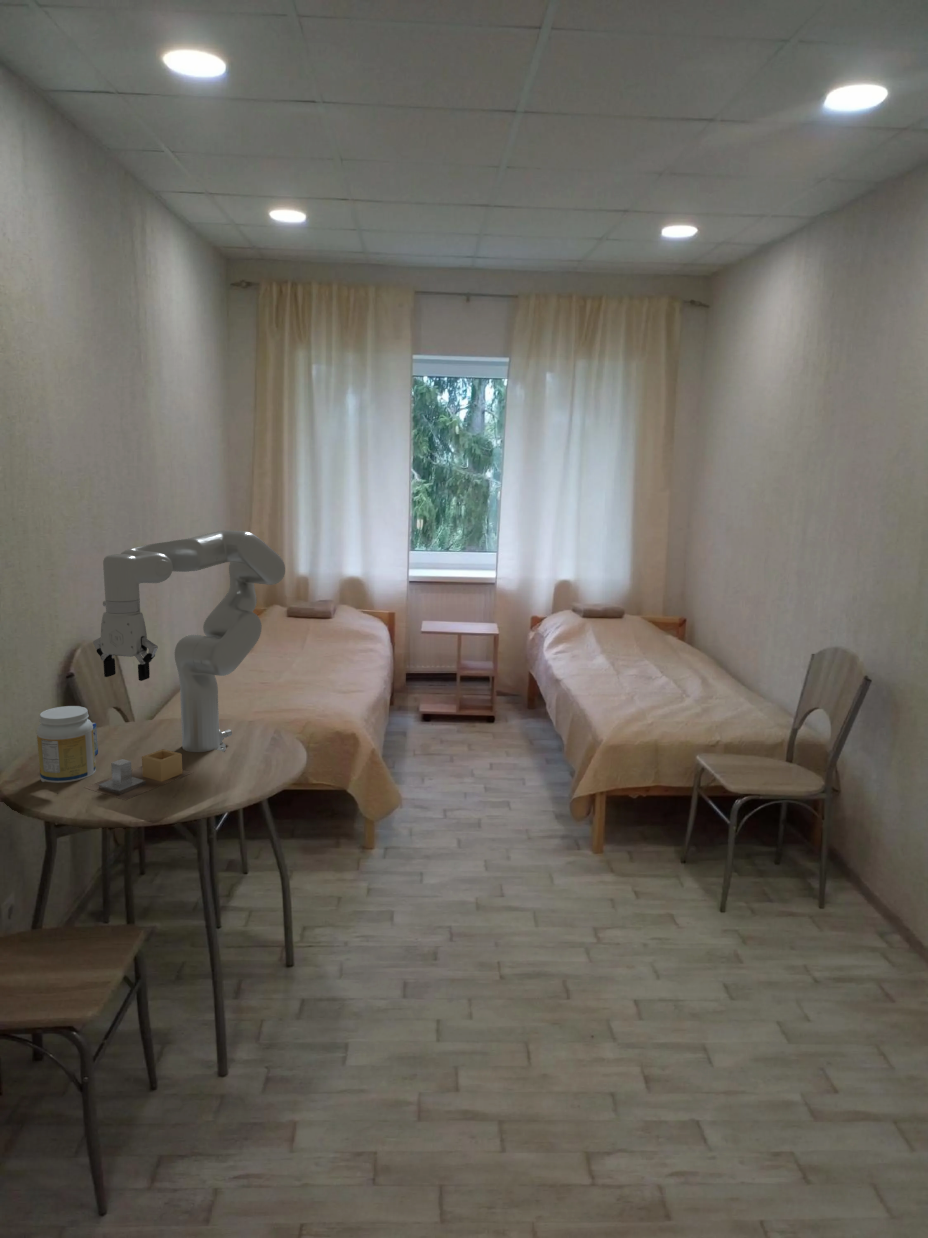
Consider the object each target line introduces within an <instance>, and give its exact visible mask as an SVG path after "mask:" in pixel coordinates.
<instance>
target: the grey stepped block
mask: <svg viewBox="0 0 928 1238" xmlns="http://www.w3.org/2000/svg"><path fill="white" fill-rule="evenodd" d="M110 763H111V767H110V768H111V777H112V780H109V781H106V782H104V783H101V784H99V789H102V790H106V791H109V792H112V793H116V794H119V795H121V794H123V793H126V792H129V791H131V790H134V789H136V788H139V787H141V786H144V785H146V781H145V780H142V779H138V778H135V777H132V771H131V770H132V761H131V760H127V759H123V758H121V759H118V760H115V761H111V762H110Z"/></svg>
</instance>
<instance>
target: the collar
mask: <svg viewBox="0 0 928 1238" xmlns="http://www.w3.org/2000/svg"><path fill="white" fill-rule="evenodd" d="M182 756H183V755H182V753H181V752H176V751H171V750H168V749H165V748H164V749H159V750H156V751H154V752H152V753H148V754H146V755H145V754H144V755H143V756H141V766H142V770H143V777H147V778H150V779H154V780H157V781H161V782H162V781H165V780H167V779H170V778H172V777H175V776H177V775H180V774H182V770H183V761H182V760H183V758H182Z"/></svg>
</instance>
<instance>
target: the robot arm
mask: <svg viewBox="0 0 928 1238" xmlns="http://www.w3.org/2000/svg"><path fill="white" fill-rule="evenodd" d="M225 563H228V564H229V565H228V573H229V589H228V591H227V593H226V595H225V596H224V597H223V598H222V600H221V601H220V602H219V603H218V604H217V605H216V606H215V607H214V609H213V610H212V611H211V612H210V613H209V614H208V616H207V617H206V618H205V620H204V622H203V627H202V629H203V633H204V635H201V634H200V635H199V634H189V635H185V636H183V637H182V638H181V639H179V640H178V642H177V643H176V646H175V648H174V661H175V662H174V663H175V665H176V668H177V669H176V670H177V673H178V679H179V694H180V697H179V699H180V718H181V719H180V722H181V740H182V741H181V742H182V743H181V744H182V745H181V747H182V749H183V751H186V752H190V753H203V752H210V751H213V750H217V751H220V752H223V753H224V752H225V751H226V749H227V747H226V743H225V742H223V740H224V739H225V738H228V737H231V736H233V731H232V730H231V729H230V728H229V729H225V730H223V731H222V730H221V729H220V722H219V721H220V720H219V718H220V717H219V688H218V682H217V678H216V676H217V677H218V676H219V677H220V676H221V677H224V676H225V677H226V676H227V675H230V674H232V672H234V671H235V670H236V669H238V667H239V666H240V664H241V663H242V662H243V660H244V659H245V658H246V657H247V656H248V654H249V653H250V652H251V650H253V648H254V647H255V646H256V644H257V643H258V641H259V639H260V636H261V634H262V621H261V618H260V617H259V616H258V615H257V614H256V613H255V612H254V610H255V609H256V607H257V604H258V603H257V602H258V601H257V594H256V589H255V584H259V585H268V586H273V585H277V584H279V583H280V582H282V580H284V577H285V574H286V564H285V562H284V560H283V558H282V557H281V556H280V555H279V554H278V553H277V552H276V551H275V550H274V549H273V548H272V547H270V546H269V545H268V544H267V543H266V542H264V541H263V540H262V539H261V538H260V537H258V536H257V535H255V534H254V533H252V532H249V531H246V530H245V531H243V530H231V529H226V530H225V529H223V530H217V531H213V532H210V533H206V534H202V535H201V534H200V535H197V536H193V537H187V538H182V539H177V540H176V539H175V540H170V541H164V542H163V541H162V542H157V543H156V542H155V543H150V544H144V545H141V546H136V547H132V548H127V549H125V550H124V551H122V552H121V553H119V554H108V555H106V556H105V557H104V558H103V560H102V564H103V567H102V568H103V569H102V570H103V583H104V601H102V605H103V607H105V612H103V613H102V616H101V617H102V618H101V624H100V637H99V638H97V639H94V640H93V641H92V643H93V645H94V647H95V650H96V653H97V654H98V656H100V660H101V661H102V663H103V675H104V676H103V677H104V678H109V677H112V676H114V675H116V671H117V670H116V660H115V657H114V656H118V657H128V658H129V657H130V658H131V657H135V658H136V660H137V661H138V662H139V664H137V675H138V677H137V678H138V680H139V681H140V682H142V681H145V680H148V679H150V672H151V671H150V663H151V662H152V660H153V659H154V657H156V653H157V652H158V648H159V647H158V645H156V643H154V642H153V641H151V640H150V639H148V635H147V628H146V627H147V626H146V623H145V617H144V614H143V612H141V603H140V602H141V597H140V584H160V583H163V582H165V581H166V580H167V581H168V579H170V577H171V576H172V573H173V572H175V573H176V572H178V573H179V572H181V573H183V572H184V573H185V572H186V573H188V572H197V571H201V570H205V569H207V568H211V567H214V566H218V565H221V564H225Z"/></svg>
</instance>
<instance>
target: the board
mask: <svg viewBox="0 0 928 1238" xmlns="http://www.w3.org/2000/svg"><path fill="white" fill-rule="evenodd" d="M131 771H132V777H135V778H138V779H142V780H145V781H146V785H144V786H141V787H139V788H136V789H134V790H131V791H129V792H126V793H123V794H121V795H119V794H116V793H112V792H109V791H106V790H102V789H99V784H101V783H104V782H106V781H109V780H112V776H111V777H109V778H106V779H104V780H100V781H97V782H95V783H92V784H90V785H87V786H84V787H83V789H87V790H91V791H94V792H97V793H100V794H104V795H107V796H110V797H114V798H116V799H120V800H123V801H127V800H129V799H132V798H134V797H137V796H139V795H141V794H144V793H147V792H149V791H151V790H154V789H157V788H159V787H161V786H164V785H166V784H168V783H171V782H174V781H176V780H178V779H182V778H185V777H187V776H189V775H192V774H194V772H193V771H189V770H185V769H182V774H180V775H177V776H175V777H172V778H170V779H167V780H165V781H162V782H161V781H157V780H154V779H150V778H147V777H143V770H142V765H141V766H139V767H135V768H133V769H131Z"/></svg>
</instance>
